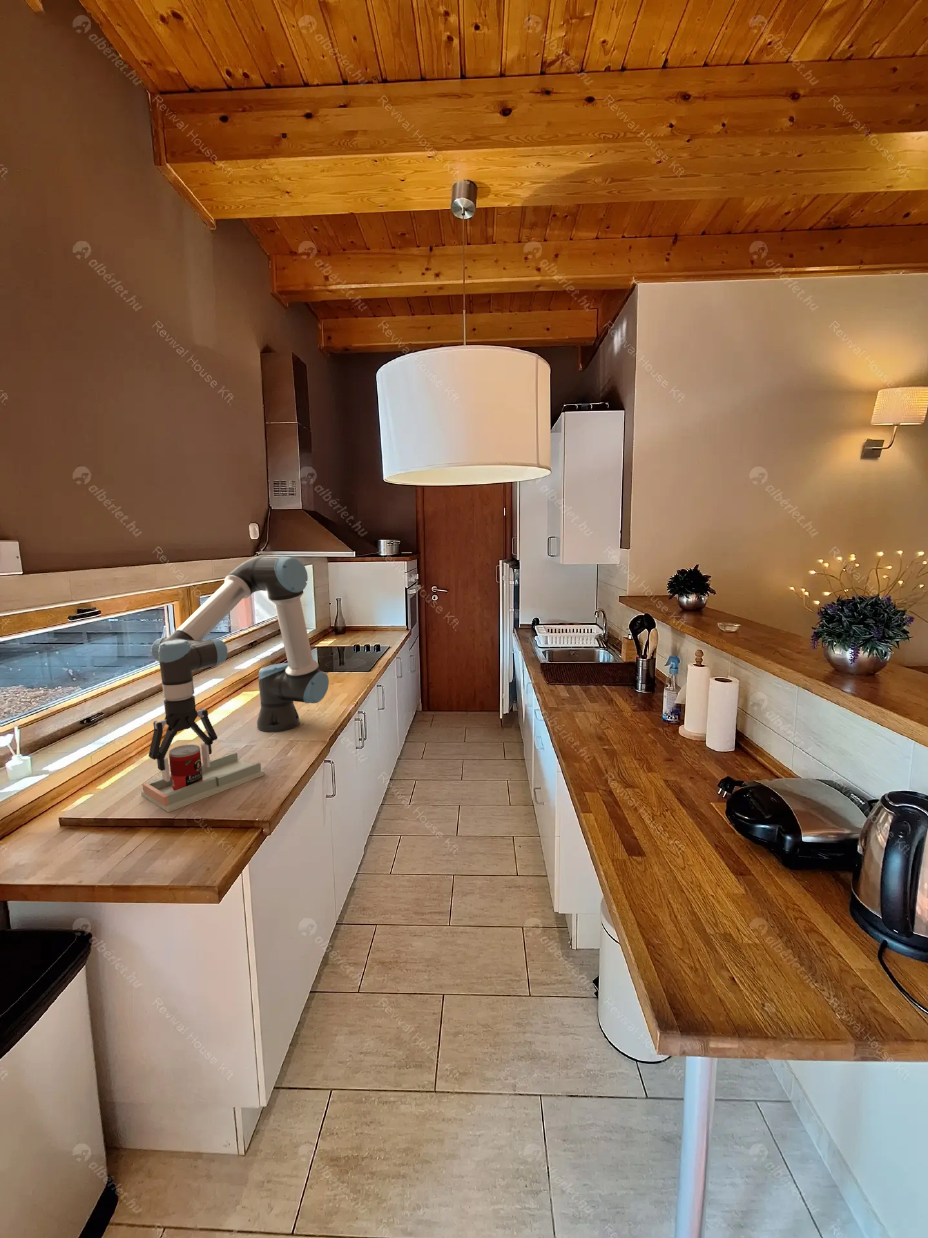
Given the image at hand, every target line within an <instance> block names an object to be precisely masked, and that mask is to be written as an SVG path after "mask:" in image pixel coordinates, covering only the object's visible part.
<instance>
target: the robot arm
mask: <svg viewBox="0 0 928 1238" xmlns="http://www.w3.org/2000/svg"><path fill="white" fill-rule="evenodd" d="M308 579H309V578H308V571H307V569H306V567H305V565H304V563H303V562H302V561H301V560H299V559H298V558H296V557H293V556H285V555H283V556H282V555H281V556H255V557H252V558H249V559H248V560H246V561H244V562H242V563H240V564H239V565H238V566H237V567H236V568H233V570H232V571H231V572H230V573H228V575H226V576H225V578H224V582H223V584H222V585H220V587H219V588H218V589H216V590H215V591H214V593H213V594H212V595H210V596H209V597H208V599H206V601H204V602H203V603H202V604H201V605H200V606H199V607H198V608H197V609H196V610H195V611H194V612H192V614H191V615H190V616H189V617H188V618H187V619H186V620H185V621H184V622H183V623H182V624H181V625H179V627H178V628H177V629H175V631H174V632H173V633H171V634H170V635H169V636H168V637H167V636H166V637H160V638H157V639H156V640H155V641H154V642H153V643H152V644H151V648H150V653H151V656H152V658H153V659H154V660H155V661H156V662H158V664H159V668H160V669H159V670H160V677H161V678H160V679H161V685H162V693H163V694H162V696H163V697H162V698H164V700H163V704H164V705H163V706H164V714H165V717H164V719H162V720H159V721H158V720H154V721H153V723H152V725H153V734H152V739H151V742H150V747H149V753H148V758H150V759H152V760H156V763H157V768H158V770H159V771H161V773H162V777H163V780H165V781H167V782H169V781H170V775H171V773H170V764H169V757H166V755H167V753H168V752H169V749H170V747H171V744H172V742H173V740H174V738H175V737H176V735H177V734H178V733H179V732H181V731H184V730H188V729H192V731H193V732H194V733H195V734H196V735H197V736H198V737H199V739H200V740H201V741H202V742H203V743H200V747H201V748H200V750H201V761H202V763H203V765H204V766H206V767H210V760H211V759H210V755H212V753H213V749H212V745H213V744H214V741H216V740H218V736H217V733H216V731H215V729H214V726H213V725H212V723H211V721H210V718H209V711H208V709H205V708H202V707H201V708H200V709H198V710H197V709H196V708H197V705H196V697H195V696H194V694H195V687H194V678H193V672H196V671H200V670H202V669H206V668H210V667H215V666H217V665H220V664H222V663H224V662H225V661H226V660H227V658H228V655H229V651H228V647H227V645H226V643H225V642H224V641H223V640H221V639H220V638H214V639H213V638H212V639H211V638H210V639H207V640H205V638H206V637H207V636H208V635H209V634H210V633H212V631H213V630H214V629H215V628H216V626H218V625H219V624H220V623H221V622H222V621H223V620H224V618H226V616H227V615H228V614H229V613H230V612H231V611H232V610H233V609H234V608H235V607H236V606H237V605H238V604H239V603H240V602H241V601H242V600H243V599H248V598H249V597H250V596H251V595H252V594H254V593H255V592H260V591H264V592H266V594H267V598H268V600H269V601H270V602H272V603H273V604H274V606H275V611H276V616H277V620H278V624H279V625H278V626H279V629H280V633H281V634H280V635H281V638H282V642H283V643H282V644H283V645H284V646H283V647H284V651H285V656H286V659H287V660H286V661H287V662H283V663H276V664H270V665H266V666H264V667H261V668H260V669H259V671H258V688H259V699H260V709H259V712H258V717H257V721H256V728H257V729H258V730H259V731H263V732H268V733H271V732H273V733H274V732H275V733H276V732H283V731H287V730H290V729H291V730H292V729H294V728H296V727H297V726H299V724H300V716H299V713H298V711H297V709H296V706H295V704H294V702H299V703H305V704H318V703H319V702H321V701H322V700H323V699H325V698H324V697H325V696H326V694H327V692H328V690H329V689H328V688H329V684H330V680H329V676H328V674H327V673H326V672H324V671H322V670H320V666H319V663H318V661H316V660H314V658H313V654H312V648H311V643H310V639H309V634H308V631H307V624H306V620H305V616H304V611H303V607H302V601H301V597H302V596H303V595H304V590H305V589H306V587H307V586H308V585H307V584H308ZM197 717H198V718H199V719H200V721H201V723H202V724H203V727H204V729H205V731H206V733H207V734H206V733H205V732H204V731H203V730H202V728H200V725H198V724H197V723H196V719H197ZM166 725H167V729H166V732H165V735H164V737H163V732H164V729H165V726H166ZM162 738H163V739H162Z"/></svg>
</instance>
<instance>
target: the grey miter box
mask: <svg viewBox="0 0 928 1238" xmlns="http://www.w3.org/2000/svg"><path fill="white" fill-rule="evenodd" d="M261 764H262V763H261V762H259V761H257V762H255V763H252V764H250V763H247V762H246V761H243V760H241V759H239V757H238V752H237V751H234V752H232V753H229V754H226V755H222V756H219V757H217V758H214V759H210V767H206V766H204V765H203V762H201V766H202V778H203V781H200V782H197V783H194V784H192V785H189V786H186V787H183V788H181V789H178V790H175V791H174V790H173V788H172V780H171V774H170V781H169V782H167V781H165V780H163V776H162V777H159V778H156V779H152V780H150V781H147V782H144V783H142V790H141V791H140V794H141V796H142V797H143V798H145V799H146V800H148V801H150V802H151V803H153V804H154V805H155V806H157V807H159V808H160V809H162V810H163V811H165V812H167V813H170V812H173V811H175V810H178V809H181V808H183V807H186V806H187V805H191V804H193V803H196V802H199V801H200V800H204V799H206V798H208V797H211V796H214V795H216V794H219V793H221V792H225V791H227V790H229V789H231V788H235V787H237V786H239V785H242V784H244V783H247V782H250V781H252V780H256V779H257V778H259V777H263V776H265V775H266V774H265V773H266V772H265V770H263V769H262V767H261Z"/></svg>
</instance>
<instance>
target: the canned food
mask: <svg viewBox="0 0 928 1238" xmlns="http://www.w3.org/2000/svg"><path fill="white" fill-rule="evenodd" d="M200 747H201V746H199V745H197V744H182V745H179V746H175V747H173V748H171V749H170V750H168V762H169V772H170V775H171V780H172V788H173V790H174V791H175V790H178V789H181V788H183V787H186V786H189V785H192V784H194V783H197V782H200V781H203V778H202V766H201V763H202V753H201V748H200Z"/></svg>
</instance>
